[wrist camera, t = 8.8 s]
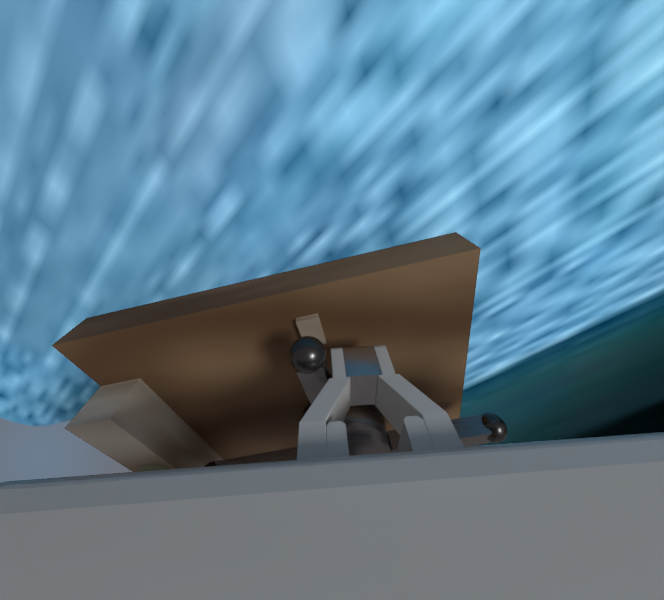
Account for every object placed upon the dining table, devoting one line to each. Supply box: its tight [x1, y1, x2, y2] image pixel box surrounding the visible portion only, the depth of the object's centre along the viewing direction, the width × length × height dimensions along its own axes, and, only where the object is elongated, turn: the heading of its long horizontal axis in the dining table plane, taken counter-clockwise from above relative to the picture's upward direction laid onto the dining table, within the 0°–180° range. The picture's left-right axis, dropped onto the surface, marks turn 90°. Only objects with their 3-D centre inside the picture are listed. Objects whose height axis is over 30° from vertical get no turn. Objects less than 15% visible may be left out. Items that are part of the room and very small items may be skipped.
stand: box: [52, 232, 480, 472], centre depth 15 cm, size 18×19×5 cm
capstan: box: [204, 336, 507, 467], centre depth 14 cm, size 17×17×3 cm
